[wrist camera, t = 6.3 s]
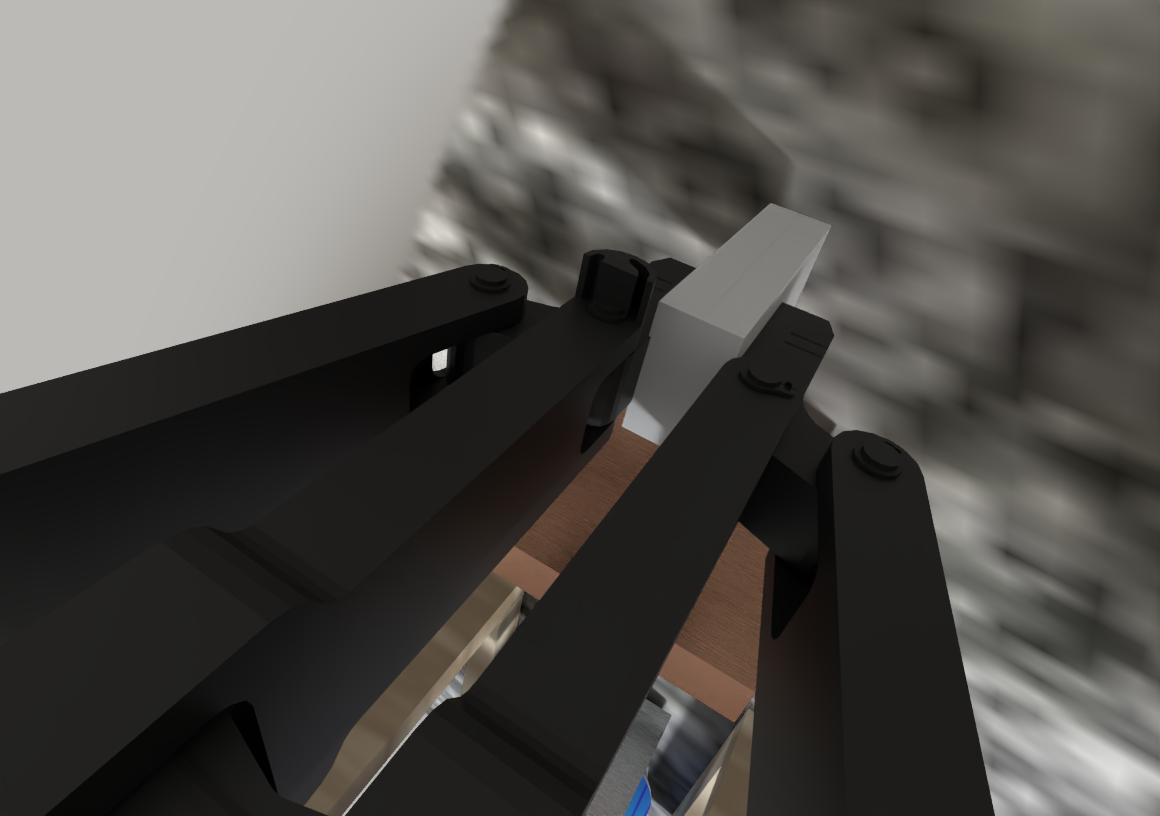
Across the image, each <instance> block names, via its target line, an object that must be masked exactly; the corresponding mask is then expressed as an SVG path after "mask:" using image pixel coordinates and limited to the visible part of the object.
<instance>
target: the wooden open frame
mask: <svg viewBox="0 0 1160 816" xmlns="http://www.w3.org/2000/svg"><path fill="white" fill-rule="evenodd" d="M523 595H524V591H523V590H522V589H520V588H519V587H517V586H515V585H514V584H512V583H511V582H509V581H508V580H506V579H504V578H503V577H501V576H500V575H498V574H496V573H495V572H493V571H492V572H491V573H490V574H489V575H488V576H487V577H486V578H485V579H484V581H483V582H482V583H481V584H480V585H479V586H478V587H477V588H476V590H475V591H474V592H473V593H472V594H471V595H470V596H469V597H468V599H467V600H466V601H465V602H464V603H463V604H462V605H461V606H460V608H459V609H458V610H457V611H456V612H455V613H454V614H453V615H452V616H451V618H450V619H449V620H448V621H447V622H446V623H445V624H444V625H443V627H442V628H441V629H440V630H439V631H438V632H437V633H436V634H435V636H434V637H433V638H432V639H431V640H430V641H429V642H428V643H427V645H426V646H425V647H424V648H423V649H422V650H421V651H420V652H419V654H418V655H417V656H416V657H415V658H414V659H413V660H412V661H411V662H410V664H409V665H408V666H407V667H406V668H405V669H404V670H403V671H402V673H401V674H400V675H399V676H398V677H397V678H396V679H395V680H394V682H393V683H392V684H391V685H390V686H389V687H388V688H387V689H386V691H385V692H384V693H383V694H382V695H381V696H380V697H379V698H378V699H377V701H376V702H375V703H374V704H373V705H372V706H371V707H370V708H369V710H368V711H367V712H366V713H365V714H364V715H363V716H362V717H361V719H360V720H359V721H358V722H357V723H356V725H355V726H354V727H353V728H352V730H351V731H350V733H349V734H348V736H347V737H346V739H345V740H344V742H343V744H342V747H341V749H340V751H339V753H338V755H337V758H336V760H335V762H334V764H333V766H332V768H331V769H330V771H329V773H328V774H327V776H326V777H325V779H324V781H323V782H322V784H321V785H320V786H319V787H318V789H317V790H316V791H315V793H314V794H313V795H312V796H311V798H310V799H309V800H308V801H307V803H306V804H305V805H304V806H305V807H308V808H311V809H313V810H316V811H318V812H321V813H323V814H326V815H328V816H342V815H343V813H344V812H345V811H346V810H347V808H348V807H349V806H350V805H351V804H352V802H353V801H354V800H355V799H356V797H357V796H358V795H359V794H360V792H361V791H362V790H363V789H364V788H365V786H366V785H367V784H368V783H369V781H370V780H371V779H372V778H373V776H374V775H375V774H376V773H377V772H378V770H379V769H380V768H381V767H382V765H383V764H384V763H385V762H386V761H387V759H388V758H389V757H390V756H391V754H392V753H393V752H394V751H395V750H396V748H397V747H398V746H399V745H400V743H401V742H402V741H403V740H404V738H405V737H406V736H407V735H408V734H409V732H410V731H411V730H412V729H413V727H414V726H415V725H416V724H417V722H418V721H419V720H420V719H421V718H422V716H423V715H424V714H425V713H426V711H427V710H428V709H429V708H430V707H431V705H432V704H433V703H434V702H435V700H436V699H437V698H438V697H439V695H440V694H441V693H442V692H443V691H444V689H445V688H446V687H447V686H448V684H449V683H450V682H451V681H452V679H453V678H454V677H455V676H456V675H457V673H458V672H459V671H460V670H461V668H462V667H463V666H464V665H465V672H464V679H463V687H462V695H463V694H464V693H465V692H467V691H468V690H469V689H470V687H471V686H472V685H473V684H474V683H475V682H476V681H477V679H478V678H479V677H480V676H481V674H482V673H483V672H484V670H485V669H486V668H487V667H488V665H489V664H490V663H491V661H492V660H493V659H494V658H495V656H496V655H497V654H498V652H499V651H500V650H501V649H502V647H503V646H504V645H505V644H506V642H507V641H508V640H509V638H510V637H511V636H512V635H513V633H514V632H515V631H516V628H517V623H518V618H519V614H520V609H521V604H522V599H523ZM462 695H461V696H462ZM753 719H754V711H752V710H751V709H749V708H748V710H747V711H746V713H745V714H744V715H743V717H742V718H741V720H740V721H739V722H738V724H737V725H736V726H735V728H734V729H733V731H732V732H731V733H730V735H729V736H728V738H727V739H726V740H725V742H724V743H723V745H722V746H721V747H720V749H719V750H718V752H717V753H716V754H715V756H714V757H713V759H712V760H711V761H710V763H709V764H708V766H707V767H706V768H705V770H704V771H703V773H702V774H701V775H700V777H699V778H698V780H697V781H696V782H695V784H694V785H693V786H692V788H691V789H690V791H689V792H688V793H687V795H686V796H685V798H684V799H683V800H682V802H681V803H680V805H679V806H678V807H677V809H676V810H675V812H674V813H673V814H672V816H746V814H747V801H748V787H749V774H750V760H751V746H752V733H753Z"/></svg>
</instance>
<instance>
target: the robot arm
mask: <svg viewBox="0 0 1160 816" xmlns="http://www.w3.org/2000/svg"><path fill="white" fill-rule="evenodd" d="M831 226H832V225H829V224H827V223H824V222H821V221H818V220H816V219H813V218H810V217H808V216H805V215H802V214H799V213H797V212H794V211H791V210H789V209H786V208H783V207H780V206H778V205H775V204H772V203H770V204H769V205H768V206H767V207H766V208H764V209H763V210H762V211H761V212H760V213H759V214H758V215H756V216H755V217H754V218H753V219H752V220H751V221H750V222H748V223H747V224H746V225H745V226H744V227H743V228H742V229H740V230H739V231H738V232H737V233H736V234H735V235H734V236H732V237H731V238H730V239H729V240H728V241H727V242H726V243H725V244H723V245H722V246H721V247H720V248H719V249H718V250H717V251H715V252H714V253H713V254H712V255H711V256H710V257H709V258H707V259H706V260H705V261H704V262H703V263H702V264H701V265H699V266H698V267H697V268H694V267H692V266H689V265H687V264H685V263H682V262H680V261H677V260H675V259H673V258H666V259H662V260H657V261H652V262H651V263H649V264H648V263H647V262H645V261H644V260H642V259H640V258H638V257H636V256H634V255H631V254H627V253H624V252H621V251H614V250H607V249H605V250H592V251H590V252H587V253H584V255H583V260H582V265H581V270H580V275H579V280H578V285H577V290H576V295H575V297H573V298H572V299H571V300H569V301H568V302H566V303H565V304H564V305H562V306H561V307H559V308H558V307H553V306H548V305H544V304H541V303H537V302H533V301H529V300H527V293H528V285H527V282H526V280H525V279H524V278H523V277H522V276H521V275H520V274H518V273H516V272H514V271H512V270H510V269H508V268H507V267H504V266H499V265H496V264H475V265H468V266H464V267H460V268H456V269H453V270H449V271H445V272H442V273H438V274H434V275H431V276H427V277H423V278H420V279H416V280H413V281H409V282H405V283H402V284H398V285H394V286H391V287H387V288H383V289H380V290H376V291H373V292H369V293H365V294H362V295H358V296H354V297H351V298H347V299H343V300H340V301H336V302H332V303H329V304H325V305H321V306H318V307H314V308H311V309H307V310H303V311H300V312H296V313H293V314H289V315H285V316H281V317H278V318H274V319H271V320H267V321H263V322H260V323H256V324H253V325H249V326H245V327H241V328H238V329H234V330H230V331H227V332H224V333H220V334H216V335H212V336H209V337H206V338H201V339H198V340H194V341H190V342H187V343H183V344H179V345H176V346H172V347H169V348H165V349H162V350H158V351H154V352H151V353H147V354H143V355H139V356H136V357H132V358H129V359H125V360H121V361H118V362H114V363H110V364H107V365H103V366H99V367H96V368H92V369H88V370H85V371H82V372H77V373H74V374H70V375H67V376H63V377H59V378H56V379H52V380H48V381H45V382H41V383H37V384H34V385H30V386H26V387H23V388H20V389H16V390H12V391H8V392H5V393H1V394H0V816H328V815H326V814H323V813H321V812H318V811H316V810H313V809H311V808H308V807H305V806H304V805H305V804H306V803H307V801H308V800H309V799H310V798H311V796H312V795H313V794H314V793H315V791H316V790H317V789H318V787H319V786H320V785H321V784H322V782H323V781H324V779H325V777H326V776H327V774H328V773H329V771H330V769H331V768H332V766H333V764H334V762H335V760H336V758H337V755H338V753H339V751H340V749H341V747H342V744H343V742H344V740H345V739H346V737H347V736H348V734H349V733H350V731H351V730H352V728H353V727H354V726H355V725H356V723H357V722H358V721H359V720H360V719H361V717H362V716H363V715H364V714H365V713H366V712H367V711H368V710H369V708H370V707H371V706H372V705H373V704H374V703H375V702H376V701H377V699H378V698H379V697H380V696H381V695H382V694H383V693H384V692H385V691H386V689H387V688H388V687H389V686H390V685H391V684H392V683H393V682H394V680H395V679H396V678H397V677H398V676H399V675H400V674H401V673H402V671H403V670H404V669H405V668H406V667H407V666H408V665H409V664H410V662H411V661H412V660H413V659H414V658H415V657H416V656H417V655H418V654H419V652H420V651H421V650H422V649H423V648H424V647H425V646H426V645H427V643H428V642H429V641H430V640H431V639H432V638H433V637H434V636H435V634H436V633H437V632H438V631H439V630H440V629H441V628H442V627H443V625H444V624H445V623H446V622H447V621H448V620H449V619H450V618H451V616H452V615H453V614H454V613H455V612H456V611H457V610H458V609H459V608H460V606H461V605H462V604H463V603H464V602H465V601H466V600H467V599H468V597H469V596H470V595H471V594H472V593H473V592H474V591H475V590H476V588H477V587H478V586H479V585H480V584H481V583H482V582H483V581H484V579H485V578H486V577H487V576H488V575H489V574H490V573H491V572H492V571H493V569H494V568H495V567H496V566H497V565H498V564H499V563H500V562H501V560H502V559H503V558H504V557H505V556H506V555H507V554H508V553H509V551H510V550H511V549H512V548H513V547H514V546H515V545H516V544H517V542H518V541H519V540H520V539H521V538H522V537H523V536H524V535H525V534H526V532H527V531H528V530H529V529H530V528H531V527H532V526H533V525H534V523H535V522H536V521H537V520H538V519H539V518H540V517H541V516H542V514H543V513H544V512H545V511H546V510H547V509H548V508H549V507H550V505H551V504H552V503H553V502H554V501H555V500H556V499H557V498H558V496H559V495H560V494H561V493H562V492H563V491H564V490H565V489H566V488H567V486H568V485H569V484H570V483H571V482H572V481H573V480H574V479H575V477H576V476H577V475H578V474H579V473H580V472H581V471H582V470H583V468H584V467H585V466H586V465H587V464H588V463H589V462H590V461H591V459H592V458H593V457H594V456H595V455H596V454H597V453H598V452H599V451H600V449H601V448H602V447H603V446H604V445H605V444H606V443H607V442H608V440H609V439H610V436H611V434H612V432H613V429H614V425H615V422H616V418H617V417H618V415H619V414H620V413H621V412H622V411H623V410H624V409H625V408H626V407H627V406H628V407H627V410H626V414H625V417H624V420H623V424H622V427H624V428H626V429H628V430H630V431H632V432H634V433H636V434H638V435H640V436H642V437H644V438H646V439H647V440H649V441H651V442H653V443H655V444H657V445H659V446H660V447H659V448H658V449H657V450H656V452H655V453H654V454H653V456H652V457H651V458H650V459H649V461H648V462H647V463H646V464H645V466H644V467H643V468H642V470H641V471H640V472H639V473H638V475H637V476H636V477H635V479H634V480H633V481H632V482H631V484H630V485H629V486H628V487H627V489H626V490H625V491H624V493H623V494H622V495H621V496H620V498H619V499H618V500H617V502H616V503H615V504H614V505H613V507H612V508H611V509H610V511H609V512H608V513H607V514H606V516H605V517H604V518H603V519H602V521H601V522H600V523H599V525H598V526H597V527H596V528H595V530H594V531H593V532H592V534H591V535H590V536H589V537H588V539H587V540H586V541H585V542H584V544H583V545H582V546H581V548H580V549H579V550H578V551H577V553H576V554H575V555H574V557H573V558H572V559H571V560H570V562H569V563H568V564H567V566H566V567H565V568H564V569H563V571H562V572H561V573H560V574H559V576H558V577H557V578H556V580H555V581H554V582H553V583H552V585H551V586H550V587H549V589H548V590H547V591H546V592H545V594H544V595H543V596H542V597H541V599H540V600H539V601H538V603H537V604H536V605H535V606H534V608H533V609H532V610H531V612H530V613H529V614H528V615H527V617H526V618H525V619H524V621H523V622H522V623H521V624H520V626H519V627H518V628H517V629H516V631H515V632H514V633H513V635H512V636H511V637H510V638H509V640H508V641H507V642H506V644H505V645H504V646H503V647H502V649H501V650H500V651H499V652H498V654H497V655H496V656H495V658H494V659H493V660H492V661H491V663H490V664H489V665H488V667H487V668H486V669H485V670H484V672H483V673H482V674H481V676H480V677H479V678H478V679H477V681H476V682H475V683H474V684H473V685H472V686H471V687H470V689H469V690H468V691H467V692H465V693H464V694H463V695H462V696H461V697H456V698H450V699H446V700H445V701H444V702H443V703H441V704H440V705H439V706H437V707H436V708H435V709H434V710H432V712H431V713H430V714H429V715H428V716H427V717H426V718H425V719H424V721H423V722H422V723H421V724H420V725H419V726H418V727H417V728H416V729H415V731H414V732H413V733H412V734H411V736H410V737H409V738H408V739H407V740H406V742H405V743H404V744H403V745H402V746H401V748H400V749H399V750H398V751H397V753H396V754H395V755H394V756H393V757H392V759H391V760H390V761H389V762H388V764H387V765H386V766H385V767H384V769H383V770H382V771H381V772H380V774H379V775H378V776H377V777H376V778H375V780H374V781H373V782H372V783H371V784H370V786H369V787H368V788H367V789H366V791H365V792H364V793H363V794H362V796H361V797H360V798H359V799H358V801H357V802H356V803H355V804H354V805H353V807H352V808H351V809H350V810H349V812H348V813H347V814H346V815H345V816H585V814H586V812H587V810H588V808H589V806H590V804H591V802H592V801H593V799H594V797H595V795H596V793H597V791H598V789H599V787H600V785H601V783H602V781H603V780H604V778H605V776H606V774H607V772H608V770H609V768H610V766H611V764H612V762H613V760H614V759H615V757H616V755H617V753H618V751H619V749H620V747H621V745H622V743H623V741H624V739H625V737H626V736H627V734H628V732H629V730H630V728H631V726H632V724H633V722H634V720H635V718H636V716H637V715H638V713H639V711H640V709H641V707H642V705H643V703H644V701H645V699H646V697H647V695H648V694H649V692H650V690H651V688H652V686H653V684H654V682H655V680H656V678H657V676H658V674H659V672H660V671H661V669H662V667H663V665H664V663H665V661H666V659H667V657H668V655H669V653H670V651H671V650H672V648H673V646H674V644H675V642H676V640H677V638H678V636H679V634H680V632H681V630H682V629H683V627H684V625H685V623H686V621H687V619H688V617H689V615H690V613H691V611H692V609H693V607H694V606H695V604H696V602H697V600H698V598H699V596H700V594H701V592H702V590H703V588H704V586H705V585H706V583H707V581H708V579H709V577H710V575H711V573H712V571H713V569H714V567H715V565H716V564H717V562H718V560H719V558H720V556H721V554H722V552H723V550H724V548H725V546H726V544H727V542H728V541H729V539H730V537H731V535H732V533H733V531H734V530H735V528H736V526H737V524H738V522H740V523H741V524H742V525H743V526H744V527H745V528H746V529H747V530H749V531H750V532H751V533H752V534H753V535H754V536H755V537H757V538H758V539H759V540H760V541H761V542H762V543H763V544H765V545H766V546H767V547H768V548H769V551H768V553H767V556H766V559H765V570H764V583H763V597H762V610H761V624H760V638H759V651H758V665H757V678H756V692H755V706H754V719H753V733H752V746H751V760H750V774H749V787H748V801H747V814H746V816H995V814H994V809H993V804H992V799H991V795H990V790H989V785H988V780H987V776H986V771H985V766H984V761H983V757H982V752H981V747H980V742H979V738H978V733H977V728H976V723H975V719H974V714H973V709H972V704H971V700H970V695H969V690H968V685H967V681H966V676H965V671H964V666H963V662H962V657H961V652H960V647H959V643H958V638H957V633H956V628H955V624H954V619H953V614H952V609H951V605H950V600H949V595H948V590H947V586H946V581H945V576H944V571H943V567H942V562H941V557H940V552H939V548H938V543H937V538H936V533H935V529H934V524H933V519H932V514H931V510H930V505H929V500H928V495H927V491H926V486H925V481H924V476H923V474H922V472H921V470H920V468H919V466H918V464H917V463H916V462H915V460H914V459H913V458H912V457H911V456H910V455H909V454H908V453H907V452H906V451H905V450H904V449H902V448H901V447H900V446H898V445H896V444H895V443H894V442H892V441H890V440H888V439H886V438H883V437H880V436H878V435H876V434H873V433H868V432H864V431H859V430H853V431H843V432H842V433H840V434H838V435H837V436H835V437H834V438H833V437H832V436H830V435H829V434H828V433H826V432H825V431H824V430H823V429H821V428H820V427H819V426H818V425H816V423H815V422H814V421H813V420H812V419H811V418H810V417H809V415H808V413H807V412H806V410H805V408H804V404H803V397H804V394H805V392H806V390H807V388H808V386H809V384H810V382H811V380H812V378H813V376H814V374H815V372H816V370H817V369H818V367H819V365H820V363H821V361H822V359H823V357H824V355H825V353H826V351H827V349H828V347H829V345H830V343H831V341H832V339H833V337H834V334H833V331H832V328H831V325H830V322H829V321H827V320H825V319H822V318H820V317H818V316H815V315H813V314H810V313H808V312H805V311H803V310H801V309H798V308H796V307H795V305H796V303H797V301H798V299H799V297H800V294H801V292H802V290H803V288H804V286H805V283H806V281H807V279H808V277H809V274H810V272H811V270H812V268H813V266H814V263H815V261H816V259H817V257H818V255H819V252H820V250H821V248H822V246H823V244H824V241H825V239H826V237H827V235H828V232H829V230H830V228H831ZM445 349H448V351H447V367H446V368H444V369H442V370H438V371H433V369H432V356H433V354H434V353H437V352H439V351H442V350H445Z"/></svg>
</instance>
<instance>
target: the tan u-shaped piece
mask: <svg viewBox="0 0 1160 816" xmlns="http://www.w3.org/2000/svg"><path fill="white" fill-rule="evenodd" d="M627 407H628V406H627ZM627 407H626V408H625V409H624V410H623V411H622V412H621V413H620V414H619V415H618V417H617V418H616V422H615V425H614V429H613V432H612V434H611V436H610V439H609V440H608V442H607V443H606V444H605V445H604V446H603V447H602V448H601V449H600V451H599V452H598V453H597V454H596V455H595V456H594V457H593V458H592V459H591V461H590V462H589V463H588V464H587V465H586V466H585V467H584V468H583V470H582V471H581V472H580V473H579V474H578V475H577V476H576V477H575V479H574V480H573V481H572V482H571V483H570V484H569V485H568V486H567V488H566V489H565V490H564V491H563V492H562V493H561V494H560V495H559V496H558V498H557V499H556V500H555V501H554V502H553V503H552V504H551V505H550V507H549V508H548V509H547V510H546V511H545V512H544V513H543V514H542V516H541V517H540V518H539V519H538V520H537V521H536V522H535V523H534V525H533V526H532V527H531V528H530V529H529V530H528V531H527V532H526V534H525V535H524V536H523V537H522V538H521V539H520V540H519V541H518V542H517V544H516V545H515V546H514V547H513V548H512V549H511V550H510V551H509V553H508V554H507V555H506V556H505V557H504V558H503V559H502V560H501V562H500V563H499V564H498V565H497V566H496V567H495V568H494V569H493V572H495V573H496V574H498V575H500V576H501V577H503V578H504V579H506V580H508V581H509V582H511V583H512V584H514V585H515V586H517V587H519V588H520V589H522V590H523V591H525V592H527V593H528V594H530V595H531V596H533V597H535V598H536V599H538V600H540V599H541V597H542V596H543V595H544V594H545V592H546V591H547V590H548V589H549V587H550V586H551V585H552V583H553V582H554V581H555V580H556V578H557V577H558V576H559V574H560V573H561V572H562V571H563V569H564V568H565V567H566V566H567V564H568V563H569V562H570V560H571V559H572V558H573V557H574V555H575V554H576V553H577V551H578V550H579V549H580V548H581V546H582V545H583V544H584V542H585V541H586V540H587V539H588V537H589V536H590V535H591V534H592V532H593V531H594V530H595V528H596V527H597V526H598V525H599V523H600V522H601V521H602V519H603V518H604V517H605V516H606V514H607V513H608V512H609V511H610V509H611V508H612V507H613V505H614V504H615V503H616V502H617V500H618V499H619V498H620V496H621V495H622V494H623V493H624V491H625V490H626V489H627V487H628V486H629V485H630V484H631V482H632V481H633V480H634V479H635V477H636V476H637V475H638V473H639V472H640V471H641V470H642V468H643V467H644V466H645V464H646V463H647V462H648V461H649V459H650V458H651V457H652V456H653V454H654V453H655V452H656V450H657V449H658V448H659V447H660V446H659V445H657V444H655V443H653V442H651V441H649V440H647V439H646V438H644V437H642V436H640V435H638V434H636V433H634V432H632V431H630V430H628V429H626V428H624V427H622V424H623V420H624V417H625V414H626V410H627ZM768 551H769V548H768V547H767V546H766V545H765V544H763V543H762V542H761V541H760V540H759V539H758V538H757V537H755V536H754V535H753V534H752V533H751V532H750V531H749V530H747V529H746V528H745V527H744V526H743V525H742V524H741V523H740V522H738V524H737V526H736V528H735V530H734V531H733V533H732V535H731V537H730V539H729V541H728V542H727V544H726V546H725V548H724V550H723V552H722V554H721V556H720V558H719V560H718V562H717V564H716V565H715V567H714V569H713V571H712V573H711V575H710V577H709V579H708V581H707V583H706V585H705V586H704V588H703V590H702V592H701V594H700V596H699V598H698V600H697V602H696V604H695V606H694V607H693V609H692V611H691V613H690V615H689V617H688V619H687V621H686V623H685V625H684V627H683V629H682V630H681V632H680V634H679V636H678V638H677V640H676V642H675V644H674V646H673V648H672V650H671V651H670V653H669V655H668V657H667V659H666V661H665V663H664V665H663V667H662V669H661V671H660V672H659V674H658V675H659V676H661V677H662V678H664V679H665V680H667V681H668V682H670V683H672V684H673V685H675V686H676V687H678V688H680V689H681V690H683V691H684V692H686V693H688V694H689V695H691V696H692V697H694V698H696V699H697V700H699V701H700V702H702V703H704V704H705V705H707V706H708V707H710V708H712V709H713V710H715V711H716V712H718V713H719V714H721V715H723V716H724V717H726V718H727V719H729V720H731V721H732V722H734V723H735V721H736V720H737V719H738V717H739V716H740V714H741V713H742V712H743V710H744V709H745V707H746V706H747V704H748V703H749V702H750V700H751V699H752V697H753V696H754V695H755V692H756V678H757V665H758V651H759V638H760V624H761V610H762V597H763V583H764V570H765V559H766V556H767V553H768ZM670 717H671V715H670V714H669V713H667V712H666V711H664V710H662V709H661V708H659V707H658V706H656V705H655V704H653V703H652V702H650V701H648V700H647V699H645V701H644V703H643V705H642V707H641V709H640V711H639V713H638V715H637V716H636V718H635V720H634V722H633V724H632V726H631V728H630V730H629V732H628V734H627V736H626V737H625V739H624V741H623V743H622V745H621V747H620V749H619V751H618V753H617V755H616V757H615V759H614V760H613V762H612V764H611V766H610V768H609V770H608V772H607V774H606V776H605V778H604V780H603V781H602V783H601V785H600V787H599V789H598V791H597V793H596V795H595V797H594V799H593V801H592V802H591V804H590V806H589V808H588V810H587V812H586V814H585V816H624V815H625V813H626V811H627V808H628V806H629V804H630V802H631V800H632V798H633V796H634V794H635V792H636V789H637V787H638V785H639V783H640V781H641V779H642V777H643V775H644V772H645V770H646V768H647V766H648V764H649V762H650V760H651V758H652V756H653V753H654V751H655V749H656V747H657V745H658V743H659V741H660V739H661V736H662V734H663V732H664V730H665V728H666V726H667V724H668V722H669V720H670Z"/></svg>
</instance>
